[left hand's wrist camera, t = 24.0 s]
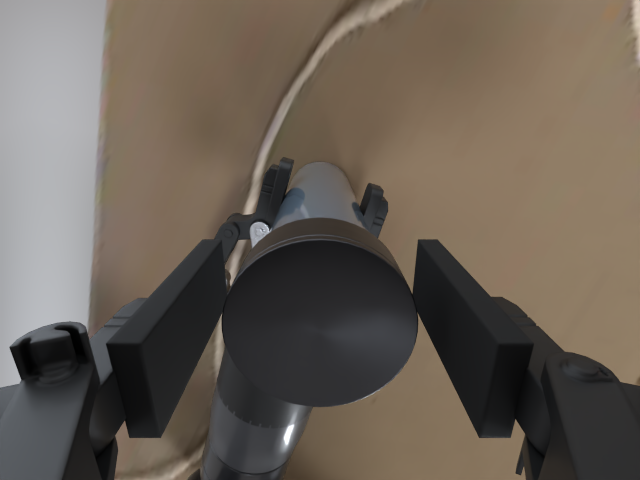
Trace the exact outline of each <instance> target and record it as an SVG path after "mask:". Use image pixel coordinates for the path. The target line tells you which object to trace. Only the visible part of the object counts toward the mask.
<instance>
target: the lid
mask: <svg viewBox="0 0 640 480" xmlns="http://www.w3.org/2000/svg"><path fill="white" fill-rule="evenodd" d="M417 332H418V314H417V308H416V304H415V300H414V297H413V295H412V293H411V290H410V288H409V286H408V284H407V282H406V280H405V278H404V276H403V274H402V273H401V271H400V269H399V267H398V265H397V263H396V261H395V259H394V257H393V256H392V254H391V253H390V251H389V250H388V249H387V247H386V246H385V245H384V244H383V243H382V242H381V241H380V240H379V239H378V238H377V237H375V236H374V235H373V234H371V233H370V232H368V231H367V230H365V229H363V228H361V227H359V226H357V225H355V224H353V223H350V222H347V221H344V220H339V219H334V218H322V217H319V218H307V219H301V220H296V221H293V222H290V223H287V224H285V225H283V226H280V227H278V228H276V229H275V230H273V231H271V232H270V233H268V234H267V235H266V236H264V237H263V238H262V239H261V240H260V241H259V242H258V243H257V244H256V245H255V246H254V247H253V248H252V249H251V251H250V252H249V254H248V255H247V257H246V259H245V260H244V262H243V264H242V266H241V268H240V270H239V272H238V274H237V276H236V278H235V280H234V282H233V284H232V286H231V288H230V290H229V292H228V294H227V296H226V300H225V303H224V306H223V312H222V333H223V339H224V343H225V346H226V349H227V352H228V354H229V356H230V358H231V360H232V361H233V363H234V364H235V366H236V367H237V369H238V370H239V371H240V372H241V373H242V375H243V376H244V377H245V378H246V379H247V380H248V381H250V382H251V383H252V384H253V385H254V386H256V387H257V388H259V389H260V390H262V391H263V392H265V393H267V394H269V395H270V396H272V397H274V398H277V399H280V400H282V401H285V402H288V403H292V404H296V405H302V406H309V407H331V406H338V405H344V404H348V403H352V402H355V401H358V400H360V399H363V398H365V397H367V396H369V395H371V394H373V393H375V392H377V391H378V390H380V389H381V388H383V387H384V386H385V385H387V384H388V383H389V382H390V381H391V380H393V379H394V378H395V376H396V375H397V374H398V373H399V372H400V371H401V370H402V368H403V367H404V365H405V364H406V363H407V361H408V359H409V357H410V355H411V353H412V351H413V348H414V345H415V342H416V337H417Z"/></svg>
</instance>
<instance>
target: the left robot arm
mask: <svg viewBox="0 0 640 480" xmlns="http://www.w3.org/2000/svg"><path fill="white" fill-rule="evenodd" d="M226 296H227V285H226V275H225V265H224V256H223V246H222V240H202V241H201V242H200V243H199V244H198V245H197V246H196V247H195V248H194V249H193V250H192V251H191V253H190V254H189V255H188V256H187V257H186V258H185V259H184V260H183V261H182V262H181V263H180V264H179V265H178V266H177V268H176V269H175V270H174V271H173V272H172V273H171V274H170V275H169V276H168V277H167V278H166V279H165V280H164V282H163V283H162V284H161V285H160V286H159V287H158V288H157V289H156V290H155V291H154V292H153V293H152V294H151V295H150V297H149V298H138V299H136V300H134V301H132V302H131V303H129V304H127V305H125V306H123V307H122V308H121V309H120V310H119V311H118V312H117V313H116V314H115V315H114V316H113V319H110V320H109V321H108V322H107V323H106V324H105V325H104V327H102V328H101V329H100V330H99V331H98V332H97V333H96V334H95V335H94V336H93V337H92V338H91V339H90V340H89V337H88V333H87V330H86V327H85V326H84V325H83V324H81V323H78V322H61V323H55V324H51V325H47V326H43V327H41V328H38V329H36V330H34V331H31V332H29V333H27V334H25V335H24V336H22V337H20V338H19V339H17V340H16V341H15V342H14V343H13V344H12V345H11V346H10V350H11V353H12V356H13V358H14V361H15V364H16V366H17V369H18V372H19V375H20V377H21V382H20V384H16V385H12V386H6V387H2V388H0V480H114V475H115V468H116V461H117V454H118V446H117V441H116V437H115V435H116V433H117V432H118V430H119V428H120V427H121V425H122V424H123V422H124V421H125V422H126V426H127V430H128V434H129V438H161V436H162V434H163V432H164V430H165V428H166V426H167V424H168V422H169V420H170V418H171V416H172V414H173V412H174V410H175V408H176V406H177V404H178V402H179V400H180V398H181V396H182V394H183V391H184V389H185V387H186V385H187V383H188V381H189V379H190V377H191V375H192V373H193V371H194V369H195V367H196V365H197V363H198V361H199V359H200V357H201V355H202V353H203V351H204V349H205V347H206V345H207V343H208V341H209V339H210V336H211V334H212V332H213V330H214V328H215V326H216V324H217V322H218V320H219V318H220V316H221V314H222V312H223V306H224V303H225V300H226ZM413 297H414V300H415V304H416V308H417V312H418V314H419V316H420V318H421V320H422V322H423V324H424V326H425V328H426V330H427V332H428V334H429V336H430V339H431V341H432V343H433V345H434V347H435V349H436V351H437V353H438V355H439V357H440V359H441V361H442V363H443V365H444V367H445V369H446V371H447V373H448V375H449V377H450V379H451V381H452V383H453V385H454V387H455V389H456V391H457V394H458V396H459V398H460V400H461V402H462V404H463V406H464V408H465V410H466V412H467V414H468V416H469V418H470V420H471V422H472V424H473V426H474V428H475V430H476V432H477V434H478V436H479V438H511V434H512V430H513V426H514V422H515V419H516V420H517V422H518V423H519V425H520V426H521V428H522V430H523V431H524V433H525V437H524V441H523V444H522V448H521V452H520V455H519V459H518V463H517V468H516V474H519V475H521V473H522V470H523V467H525V474H526V480H640V386H637V385H632V384H627V383H622V382H620V381H619V379H618V378H617V377H616V376H615V375H614V373H613V372H612V371H611V370H609V369H608V368H606V367H605V366H604V365H602V364H601V363H599V362H597V361H595V360H593V359H590V358H588V357H586V356H582V355H579V354H576V353H570V352H564V351H563V350H562V349H561V348H560V347H559V346H558V345H557V344H556V343H555V342H554V341H553V340H552V339H551V338H550V337H549V336H548V335H547V334H546V333H545V332H544V331H543V330H542V329H541V328H540V327H539V326H536V323H535V322H534V321H533V320H532V319H531V318H529V317H527V315H526V314H525V313H524V312H523V311H522V310H521V309H520V308H519V307H518V306H517V305H515V304H514V303H512V302H510V301H508V300H506V299H505V298H503V297H490V295H489V294H488V293H487V292H486V291H485V290H484V289H483V288H482V287H481V286H480V285H479V284H478V283H477V282H476V280H475V279H474V278H473V277H472V276H471V275H470V274H469V273H468V272H467V271H466V270H465V269H464V268H463V266H462V265H461V264H460V263H459V262H458V261H457V260H456V259H455V258H454V257H453V256H452V255H451V254H450V253H449V251H448V250H447V249H446V248H445V247H444V246H443V245H442V244H441V243H440V242H439V241H438V240H418V246H417V256H416V265H415V275H414V285H413Z"/></svg>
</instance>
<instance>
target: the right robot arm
mask: <svg viewBox="0 0 640 480" xmlns="http://www.w3.org/2000/svg"><path fill="white" fill-rule="evenodd" d="M293 163H294V160H292V159H288V158H285V157H283V158H282V159H281V161H280V164H279V166H278V165H274V164H273V165H272V166H271V167H270V168H269V170H268V171H267V172H266V174H265V176H264V180H263V184H262V188H261V192H260V197H259V201H258V205H257V209H256V212H255V213H253V214H250V215H242V214H240V213H234V214H232V215H231V216H230V217H229V218H228V219H227V221H226V222H225V223H224V224H223V225H222V226H221V227H220V229H219V231H218V233H217V235H216V237H215V239H214V240H222V246H223V256H224V265H225V264H226V262H227V260H228V258H229V257H230V255H231V253H232V251H233V249H234V247H235V245H236V243H237V241H238V240H244V239H251V244H252V248H253V247H254V246H255V245H256V244H257V243H258V242H259V241H260V240H261V239H262V238H263V237H264V236H266V235H267V234H268V233H269V232H270V230H271V227H272V225H273V223H274V220H275V218H276V216H277V213H278V211H279V209H280V206H281V204H282V202H283V199H284V197H285V194H286V190H287V186H288V182H289V178H290V175H291V171H292V167H293ZM360 209H361V212H362V214H363V216H364V219H365V221H366V223H367V226H368V228H369V230H370V233H371V234H373V235H374V236H375V237H377V238H378V236H379V234H380V231H381V228H382V225H383V223H384V220H385V218H386V215H387V212H388V202H387V201H386V199H385V198H384V197H383V189H382V188H381V187H380V186H378V185H375V184H371V183H369V184H368V185H367V187H366V190H365V193H364V196H363V199H362V202H361V205H360ZM225 275H226V285H227V294H228V292H229V290H230V288H231V286H230V279H231V275H230V273H229V272H228V270H227V269H225ZM312 408H313V407H309V406H302V405H296V404H292V403H288V402H285V401H282V400H280V399H277V398H274V397H272V396H270V395H269V394H267V393H265V392H263V391H262V390H260V389H259V388H257V387H256V386H254V385H253V384H252V383H251V382H250V381H248V380H247V379H246V378H245V377H244V376H243V375H242V373H241V372H240V371H239V370H238V369H237V367H236V366H235V364H234V363H233V361H232V360H231V358H230V356H229V354H228V352H227V349H226V346H225V350H224V354H223V358H222V362H221V367H220V371H219V375H218V378H217V384H216V388H215V392H214V396H213V400H212V406H211V414H210V427H209V431H208V435H207V439H206V443H205V448H204V451H203V455H202V460H201V467H200V469H198V470H197V471H195V472H194V473H193V474H192V475H190V477H189V478H188V479H187V480H284V475H285V472H286V469H287V466H288V464H289V461H290V458H291V455H292V453H293V450H294V448H295V446H296V444H297V443H298V441H299V439H300V437H301V436H302V434H303V431H304V429H305V427H306V424H307V421H308V419H309V416H310V413H311V410H312Z"/></svg>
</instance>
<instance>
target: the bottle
mask: <svg viewBox="0 0 640 480" xmlns="http://www.w3.org/2000/svg"><path fill="white" fill-rule="evenodd" d="M319 217H322V218H334V219H339V220H344V221H347V222H350V223H353V224H355V225H357V226H359V227H361V228H363V229H365V230H367V231H368V232H370V230H369V228H368V226H367V223H366V221H365V219H364V216H363V214H362V212H361V209H360V207H359V205H358V202H357V200H356V197H355V195H354V193H353V190H352V188H351V186H350V183H349V181H348V179H347V177H346V175H345V174H344V173H343V171H342V170H340V169H339V168H338V167H337V166H335V165H333V164H330V163H327V162H313V163H309V164H307V165H305V166H303V167H302V168H301V169H299V170H298V171H297V172H296V174H295V175H294V177H293V178H292V180H291V183H290V185H289V188H288V190H287V192H286V195H285V197H284V199H283V202H282V204H281V206H280V209H279V211H278V213H277V216H276V218H275V220H274V223H273V225H272V227H271V230H270V232H271V231H273V230H275V229H276V228H278V227H280V226H283V225H285V224H287V223H290V222H293V221H296V220H301V219H307V218H319ZM270 232H269V233H270Z"/></svg>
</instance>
